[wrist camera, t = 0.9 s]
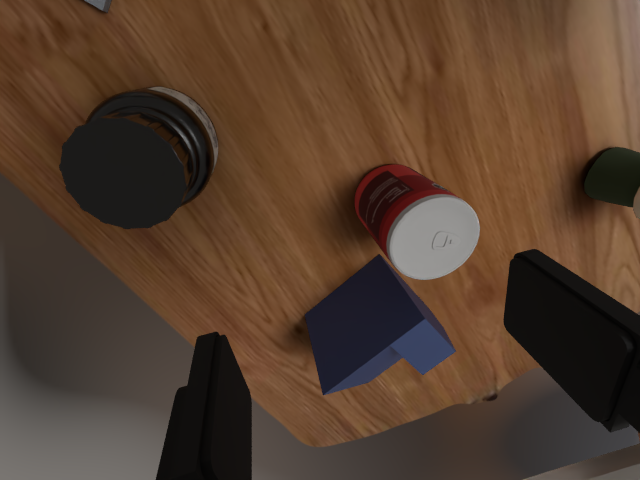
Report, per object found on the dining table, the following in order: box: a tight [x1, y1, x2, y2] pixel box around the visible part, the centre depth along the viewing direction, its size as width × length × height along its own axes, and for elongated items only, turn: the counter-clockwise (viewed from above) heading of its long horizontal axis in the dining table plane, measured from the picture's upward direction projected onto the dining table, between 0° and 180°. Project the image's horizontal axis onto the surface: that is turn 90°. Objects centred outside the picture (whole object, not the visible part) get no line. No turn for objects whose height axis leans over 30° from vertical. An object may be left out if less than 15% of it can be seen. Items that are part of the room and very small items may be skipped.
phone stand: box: [305, 254, 456, 395], centre depth 39 cm, size 12×12×12 cm
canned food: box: [355, 165, 480, 280], centre depth 32 cm, size 8×8×11 cm
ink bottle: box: [59, 87, 218, 229], centre depth 25 cm, size 10×9×12 cm
